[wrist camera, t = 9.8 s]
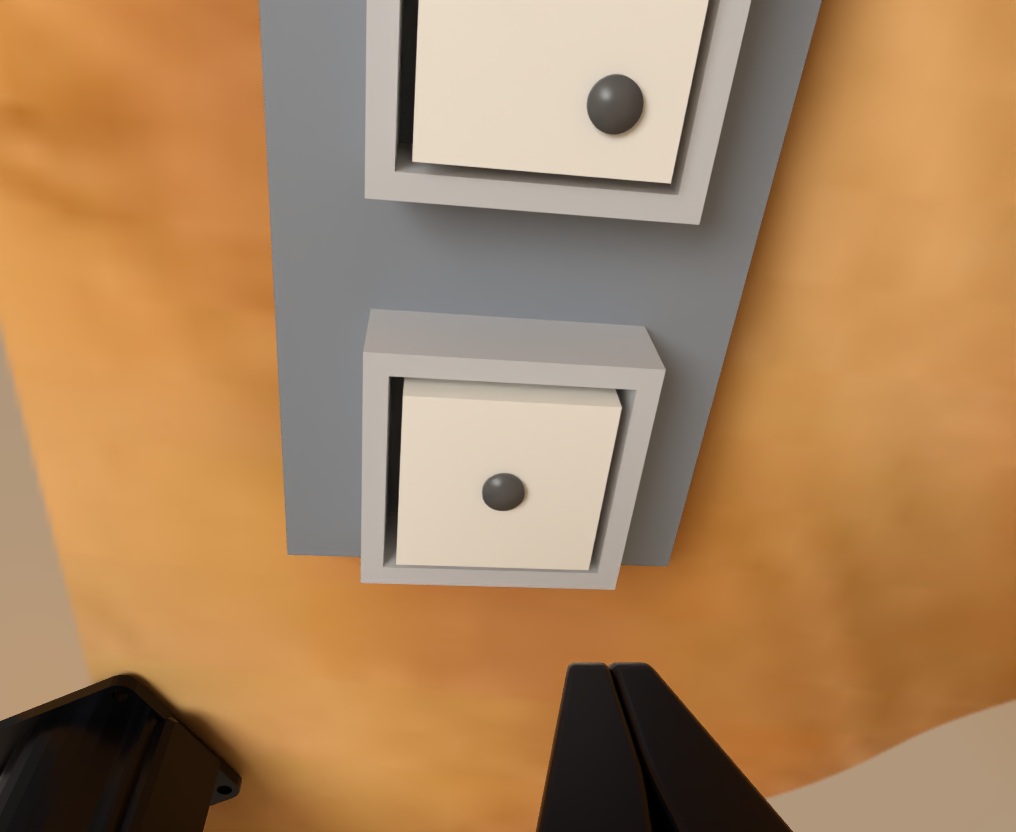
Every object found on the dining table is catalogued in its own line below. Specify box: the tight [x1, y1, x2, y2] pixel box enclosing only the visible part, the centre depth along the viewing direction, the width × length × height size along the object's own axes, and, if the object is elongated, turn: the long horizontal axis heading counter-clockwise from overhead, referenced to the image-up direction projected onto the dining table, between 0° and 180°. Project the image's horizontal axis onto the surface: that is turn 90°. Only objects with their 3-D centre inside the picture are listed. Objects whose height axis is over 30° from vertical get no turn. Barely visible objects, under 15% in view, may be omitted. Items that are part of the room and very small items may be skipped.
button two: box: [412, 0, 709, 184], centre depth 13 cm, size 4×4×2 cm
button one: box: [396, 377, 622, 570], centre depth 18 cm, size 4×4×2 cm
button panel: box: [259, 0, 822, 590], centre depth 15 cm, size 26×10×4 cm, turn 174°
